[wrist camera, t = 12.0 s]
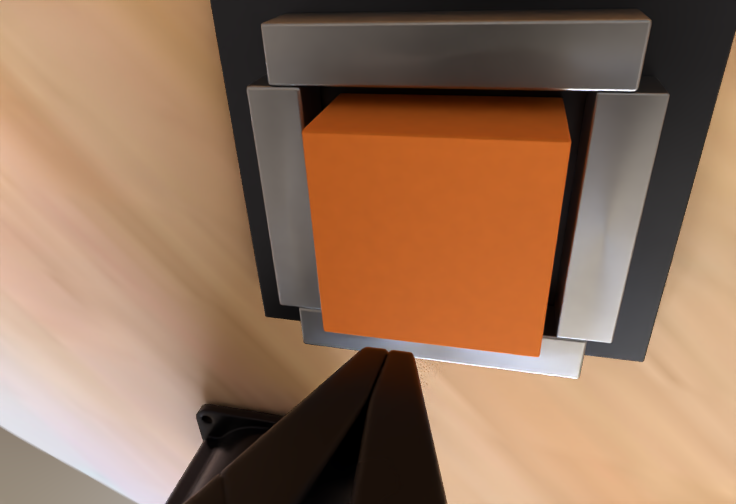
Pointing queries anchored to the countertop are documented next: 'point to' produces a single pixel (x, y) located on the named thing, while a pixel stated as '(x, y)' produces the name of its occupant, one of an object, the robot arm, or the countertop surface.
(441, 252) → the orange block
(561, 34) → the mount plate
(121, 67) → the countertop surface
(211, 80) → the countertop surface
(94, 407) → the countertop surface
